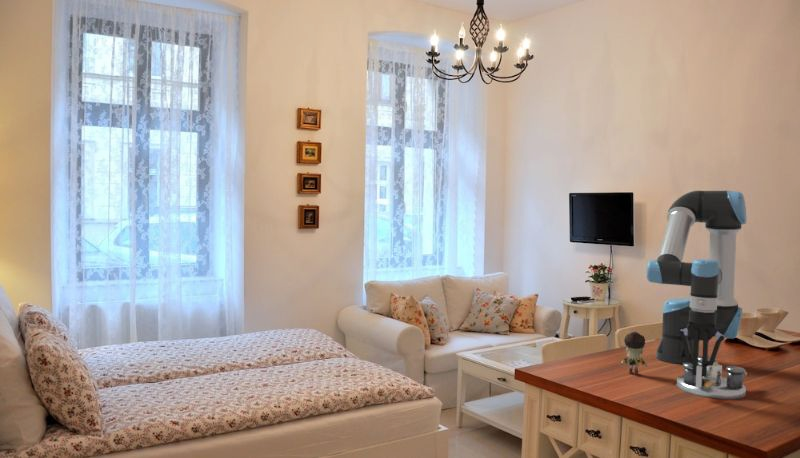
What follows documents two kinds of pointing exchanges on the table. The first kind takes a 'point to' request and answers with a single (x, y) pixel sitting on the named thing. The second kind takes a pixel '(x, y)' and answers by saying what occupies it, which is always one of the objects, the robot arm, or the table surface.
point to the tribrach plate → (713, 385)
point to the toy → (634, 350)
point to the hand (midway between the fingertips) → (698, 386)
